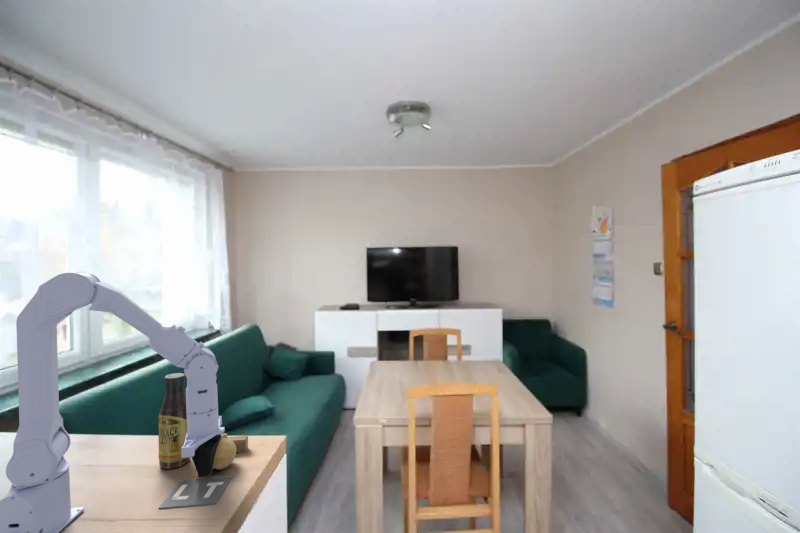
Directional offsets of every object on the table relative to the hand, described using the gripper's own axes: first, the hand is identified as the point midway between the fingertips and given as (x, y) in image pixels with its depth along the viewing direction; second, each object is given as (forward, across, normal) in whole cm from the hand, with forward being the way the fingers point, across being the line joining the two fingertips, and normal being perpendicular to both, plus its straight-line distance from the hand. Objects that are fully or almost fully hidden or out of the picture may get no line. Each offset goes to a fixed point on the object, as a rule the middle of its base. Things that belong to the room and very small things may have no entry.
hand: (205, 475), depth 79 cm
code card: (+1, -3, 0) cm, 4 cm away
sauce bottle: (+2, +9, +10) cm, 13 cm away
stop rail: (+1, +13, 0) cm, 13 cm away
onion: (+1, +5, 0) cm, 5 cm away
